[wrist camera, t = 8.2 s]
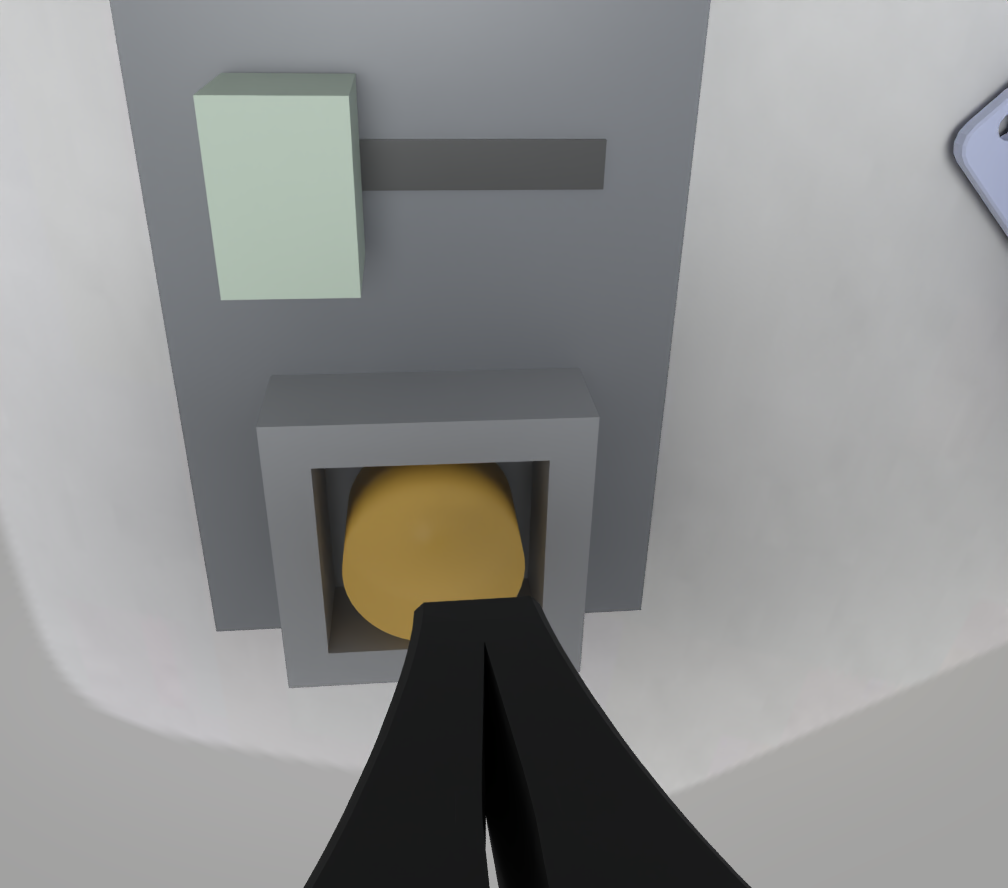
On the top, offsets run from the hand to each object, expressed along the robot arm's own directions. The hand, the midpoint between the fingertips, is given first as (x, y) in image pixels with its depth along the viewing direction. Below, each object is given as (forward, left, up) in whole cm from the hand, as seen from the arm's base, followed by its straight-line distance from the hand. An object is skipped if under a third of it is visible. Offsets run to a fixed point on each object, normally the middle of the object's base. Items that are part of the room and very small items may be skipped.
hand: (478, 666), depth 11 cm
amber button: (+2, +1, -7) cm, 8 cm away
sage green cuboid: (-1, -5, -7) cm, 9 cm away
